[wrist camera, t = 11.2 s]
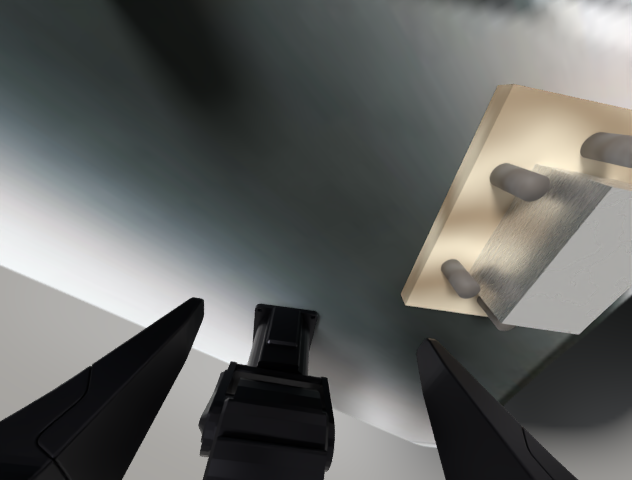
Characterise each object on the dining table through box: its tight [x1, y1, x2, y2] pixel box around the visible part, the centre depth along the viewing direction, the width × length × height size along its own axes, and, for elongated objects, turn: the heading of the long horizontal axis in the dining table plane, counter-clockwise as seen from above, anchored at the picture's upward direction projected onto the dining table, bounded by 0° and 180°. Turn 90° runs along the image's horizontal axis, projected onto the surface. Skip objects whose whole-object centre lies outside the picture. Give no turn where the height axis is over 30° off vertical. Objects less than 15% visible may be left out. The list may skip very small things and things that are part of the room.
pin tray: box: [401, 84, 632, 331], centre depth 19 cm, size 18×14×4 cm
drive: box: [469, 164, 632, 334], centre depth 17 cm, size 10×6×5 cm, turn 170°
